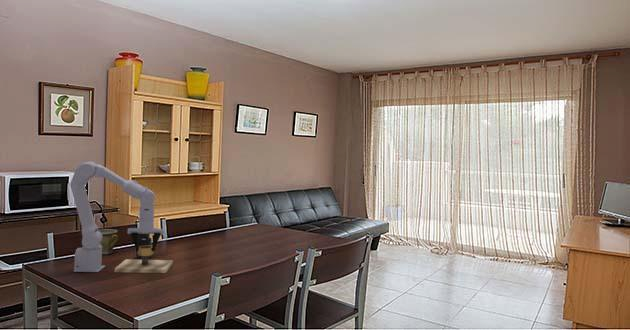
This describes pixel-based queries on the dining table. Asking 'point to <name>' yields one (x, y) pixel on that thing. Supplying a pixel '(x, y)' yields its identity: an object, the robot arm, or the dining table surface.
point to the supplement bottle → (143, 243)
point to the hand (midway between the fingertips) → (145, 250)
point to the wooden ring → (145, 250)
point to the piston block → (144, 265)
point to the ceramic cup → (108, 240)
